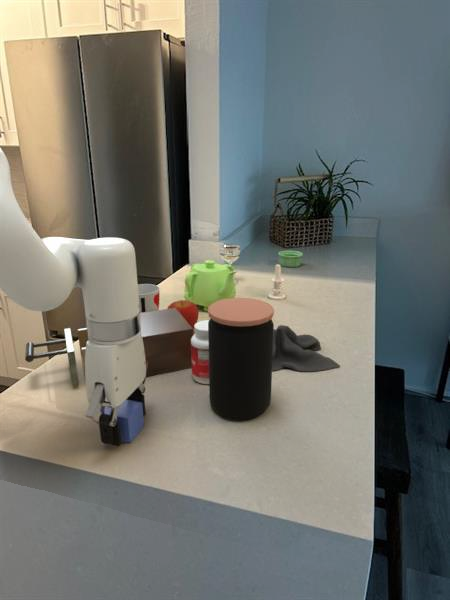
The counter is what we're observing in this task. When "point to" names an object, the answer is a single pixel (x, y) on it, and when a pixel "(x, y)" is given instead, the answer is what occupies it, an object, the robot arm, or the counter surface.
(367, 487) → the counter surface
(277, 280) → the cream tower figurine
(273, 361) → the cloth
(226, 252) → the wineglass
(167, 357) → the cabinet
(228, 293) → the teapot
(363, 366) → the counter surface
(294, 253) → the ramekin
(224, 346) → the coffee jar
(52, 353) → the brown drawer with handle
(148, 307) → the cup
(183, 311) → the apple
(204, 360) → the pill bottle
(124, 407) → the matte blue cube
